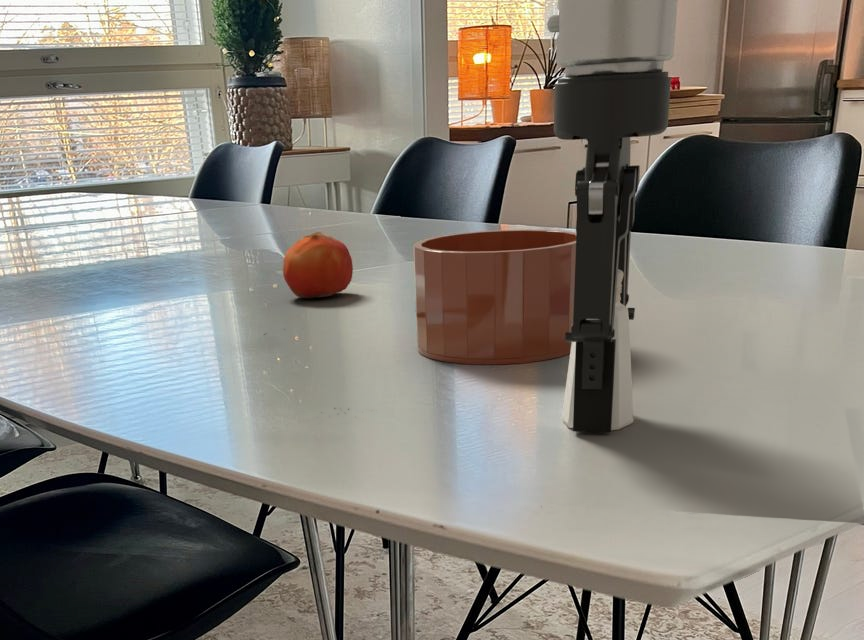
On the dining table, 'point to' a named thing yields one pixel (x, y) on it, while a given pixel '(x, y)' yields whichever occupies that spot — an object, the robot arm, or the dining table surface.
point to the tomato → (317, 266)
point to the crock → (495, 296)
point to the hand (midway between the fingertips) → (597, 417)
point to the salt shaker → (622, 370)
